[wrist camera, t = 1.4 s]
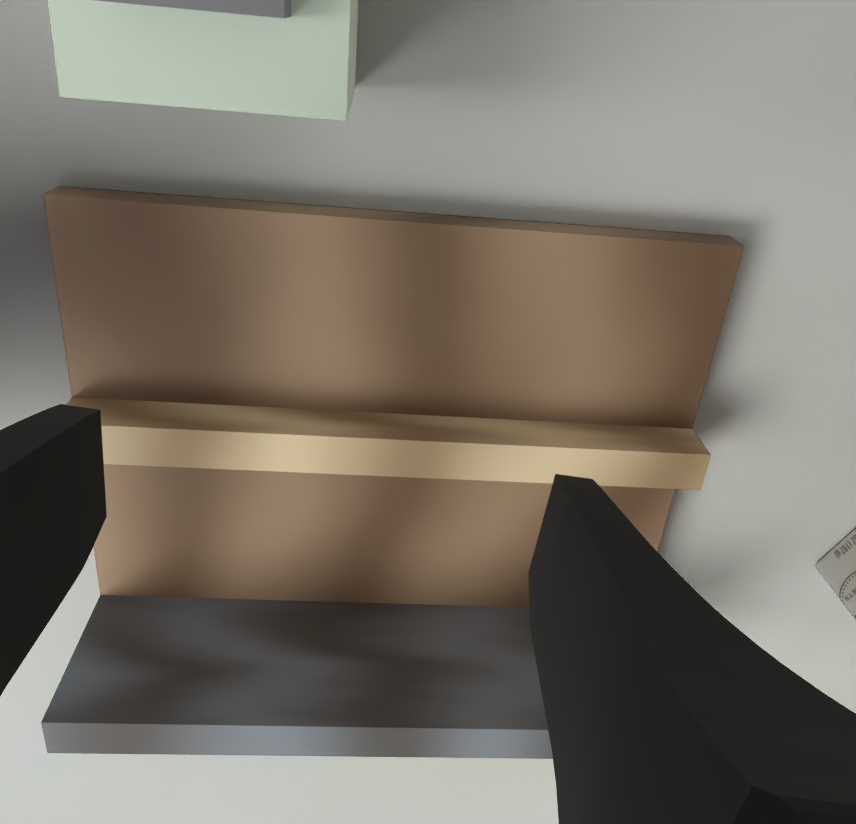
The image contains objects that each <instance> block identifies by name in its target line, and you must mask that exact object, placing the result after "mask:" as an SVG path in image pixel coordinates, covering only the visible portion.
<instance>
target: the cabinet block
mask: <svg viewBox="0 0 856 824" xmlns="http://www.w3.org/2000/svg"><path fill="white" fill-rule="evenodd" d="M47 1H48V9H49V17H50V25H51V33H52V41H53V48H54V56H55V64H56V72H57V80H58V88H59V96H60V97H66V98H78V99H90V100H102V101H114V102H126V103H138V104H150V105H162V106H174V107H186V108H198V109H209V110H221V111H233V112H245V113H257V114H269V115H281V116H293V117H305V118H317V119H329V120H341V121H346V120H347V116H348V112H349V108H350V104H351V100H352V97H353V93H354V89H355V78H356V53H357V28H358V3H359V0H47Z"/></svg>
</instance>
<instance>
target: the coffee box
mask: <svg viewBox="0 0 856 824" xmlns="http://www.w3.org/2000/svg"><path fill="white" fill-rule="evenodd" d="M816 568H817V570H818V571H819V573H820V574H821V575H822V577H823V578H824V579H825V581H826V582H827V583H828V584H829V586H830V587H831V588H832V590H833V591H834V592H835V594H836V595H837V596H838V598H839V599H840V600H841V602H842V603H843V604H844V605H845V607H846V608H847V609H848V611H849V612H850V613H851V615H852V616H853V617H854V618H855V619H856V529H855V530H853V531H852V532H851V533H850V534H849V535H848V536H847V537H846V538H844V539H843V540H842V541H841V542H840V543H839V544H838V545H836V546H835V547H834V548H833V549H832V550H831V551H830V552H829V553H827V554H826V555H825V556H824V557H823V558H822V559H821V560H820V561H819V562H818V563H817V564H816Z"/></svg>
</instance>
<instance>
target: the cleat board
mask: <svg viewBox="0 0 856 824" xmlns="http://www.w3.org/2000/svg"><path fill="white" fill-rule="evenodd" d="M43 198H44V205H45V212H46V218H47V225H48V232H49V239H50V246H51V253H52V260H53V267H54V274H55V281H56V288H57V295H58V302H59V309H60V316H61V323H62V330H63V337H64V344H65V351H66V358H67V365H68V372H69V379H70V386H71V393H72V398H71V399H70V401H69V402H68V403H67V405H70V406H78V407H85V408H92V409H99V410H100V411H101V428H102V445H103V462H104V479H105V496H106V512H107V517H106V519H105V521H104V524H103V526H102V528H101V530H100V533H99V535H98V537H97V539H96V542H95V544H94V553H95V560H96V567H97V574H98V581H99V588H100V597H99V599H98V602H97V604H96V606H95V608H94V610H93V612H92V614H91V617H90V619H89V621H88V623H87V625H86V627H85V630H84V632H83V634H82V636H81V638H80V640H79V642H78V645H77V647H76V649H75V651H74V653H73V655H72V657H71V660H70V662H69V664H68V666H67V668H66V670H65V673H64V675H63V677H62V679H61V681H60V683H59V685H58V688H57V690H56V692H55V694H54V696H53V698H52V700H51V703H50V705H49V707H48V709H47V711H46V713H45V716H44V718H43V720H42V722H41V724H42V729H43V733H44V738H45V743H46V748H47V752H48V753H100V754H188V755H275V756H363V757H451V758H539V759H553V755H552V749H551V743H550V738H549V732H548V726H547V721H546V715H545V709H544V704H543V698H542V693H541V687H540V681H539V676H538V670H537V664H536V658H535V652H534V647H533V641H532V634H531V628H530V609H529V578H528V572H529V569H530V565H531V561H532V558H533V554H534V550H535V547H536V543H537V539H538V536H539V532H540V528H541V525H542V521H543V517H544V514H545V510H546V506H547V503H548V499H549V495H550V492H551V488H552V484H553V481H554V477H555V474H561V475H568V476H575V477H582V478H589V479H593V480H594V481H595V482H596V483H597V484H598V485H599V486H600V487H601V488H602V489H603V490H604V492H605V493H606V494H607V495H608V496H609V497H610V499H611V500H612V501H613V502H614V503H615V504H616V506H617V507H618V508H619V509H620V510H621V511H622V513H623V514H624V515H625V516H626V517H627V518H628V520H629V521H630V522H631V523H632V524H633V525H634V526H635V528H636V529H637V530H638V531H639V532H640V533H641V534H642V536H643V537H644V538H645V539H646V540H647V541H648V542H649V543H650V544H651V546H652V547H653V548H654V549H655V550H656V551H658V548H659V544H660V540H661V537H662V533H663V530H664V526H665V523H666V519H667V516H668V512H669V509H670V505H671V502H672V498H673V495H674V491H675V489H688V490H700V489H701V486H702V482H703V479H704V476H705V472H706V469H707V466H708V463H709V459H710V456H711V454H710V453H709V452H708V450H707V449H706V447H705V446H704V445H703V443H702V442H701V440H700V439H699V438H698V436H697V435H696V433H695V432H694V431H693V429H692V427H693V424H694V420H695V417H696V413H697V410H698V406H699V403H700V399H701V396H702V392H703V389H704V385H705V382H706V378H707V375H708V371H709V367H710V364H711V360H712V357H713V353H714V350H715V346H716V343H717V339H718V336H719V332H720V329H721V325H722V322H723V318H724V314H725V311H726V307H727V304H728V300H729V297H730V293H731V290H732V286H733V283H734V279H735V276H736V272H737V269H738V265H739V262H740V258H741V254H742V251H743V247H744V246H743V245H741V244H740V243H738V242H737V241H735V240H734V239H732V238H731V237H730V236H721V235H707V234H694V233H680V232H667V231H653V230H640V229H626V228H613V227H599V226H586V225H572V224H559V223H545V222H532V221H518V220H505V219H491V218H478V217H465V216H451V215H438V214H424V213H411V212H397V211H384V210H370V209H357V208H343V207H330V206H316V205H303V204H289V203H276V202H262V201H249V200H235V199H222V198H208V197H195V196H181V195H168V194H154V193H141V192H127V191H114V190H100V189H87V188H73V187H60V186H58V187H56V188H54V189H53V190H51V191H49V192H48V193H46V194H44V195H43Z"/></svg>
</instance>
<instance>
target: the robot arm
mask: <svg viewBox="0 0 856 824" xmlns="http://www.w3.org/2000/svg"><path fill="white" fill-rule="evenodd" d="M106 517H107V512H106V496H105V479H104V462H103V445H102V428H101V411H100V410H99V409H92V408H85V407H78V406H70V405H63V404H60V405H57V406H54V407H52V408H49V409H46V410H44V411H42V412H39V413H37V414H35V415H32V416H30V417H28V418H26V419H23V420H21V421H19V422H17V423H15V424H13V425H10V426H8V427H6V428H4V429H2V430H0V696H1V694H2V692H3V691H4V689H5V687H6V686H7V684H8V683H9V681H10V680H11V678H12V677H13V675H14V674H15V672H16V671H17V669H18V668H19V666H20V664H21V663H22V661H23V660H24V658H25V657H26V655H27V654H28V652H29V651H30V649H31V648H32V646H33V645H34V643H35V642H36V640H37V639H38V637H39V636H40V634H41V633H42V631H43V630H44V628H45V626H46V625H47V623H48V622H49V620H50V619H51V617H52V616H53V614H54V613H55V611H56V610H57V608H58V607H59V605H60V604H61V602H62V600H63V599H64V597H65V596H66V594H67V593H68V591H69V590H70V588H71V586H72V585H73V583H74V582H75V580H76V579H77V577H78V575H79V574H80V572H81V571H82V569H83V567H84V565H85V563H86V561H87V559H88V556H89V554H90V552H91V550H92V548H93V546H94V544H95V542H96V539H97V537H98V535H99V533H100V530H101V528H102V526H103V524H104V521H105V519H106ZM528 578H529V609H530V628H531V634H532V641H533V647H534V652H535V658H536V664H537V670H538V676H539V681H540V687H541V693H542V698H543V704H544V709H545V715H546V721H547V726H548V732H549V738H550V743H551V749H552V755H553V762H554V770H555V778H556V787H557V802H558V816H559V824H856V714H855V713H854V712H852V711H850V710H849V709H847V708H846V707H844V706H843V705H841V704H840V703H838V702H836V701H835V700H833V699H832V698H830V697H829V696H827V695H826V694H824V693H823V692H821V691H820V690H818V689H817V688H815V687H814V686H813V685H811V684H810V683H808V682H807V681H805V680H804V679H803V678H801V677H800V676H798V675H797V674H796V673H794V672H793V671H791V670H790V669H789V668H787V667H786V666H784V665H783V664H782V663H780V662H779V661H777V660H776V659H775V658H774V657H772V656H771V655H770V654H768V653H767V652H766V651H764V650H763V649H762V648H760V647H759V646H758V645H757V644H755V643H754V642H753V641H752V640H751V639H749V638H748V637H747V636H746V635H745V634H743V633H742V632H741V631H740V630H739V629H737V628H736V627H735V626H734V625H733V624H731V623H730V622H729V621H728V620H727V619H725V618H724V617H723V616H722V615H721V614H720V613H719V612H717V611H716V610H715V609H714V608H713V607H712V606H711V605H710V604H709V603H708V602H706V601H705V600H704V599H703V598H702V597H701V596H700V595H699V594H698V593H697V592H696V591H695V590H694V589H693V588H692V587H691V586H690V585H689V584H688V583H687V582H686V581H685V580H684V579H683V578H682V577H681V576H680V575H679V574H678V573H677V572H676V571H675V570H674V569H673V568H672V567H671V566H670V565H669V564H668V563H667V562H666V561H665V560H664V559H663V558H662V556H661V555H660V554H659V553H658V552H657V551H656V550H655V549H654V548H653V547H652V546H651V544H650V543H649V542H648V541H647V540H646V539H645V538H644V537H643V536H642V534H641V533H640V532H639V531H638V530H637V529H636V528H635V526H634V525H633V524H632V523H631V522H630V521H629V520H628V518H627V517H626V516H625V515H624V514H623V513H622V511H621V510H620V509H619V508H618V507H617V506H616V504H615V503H614V502H613V501H612V500H611V499H610V497H609V496H608V495H607V494H606V493H605V492H604V490H603V489H602V488H601V487H600V486H599V485H598V484H597V483H596V482H595V481H594V480H593V479H589V478H582V477H575V476H568V475H561V474H555V477H554V481H553V484H552V488H551V492H550V495H549V499H548V503H547V506H546V510H545V514H544V517H543V521H542V525H541V528H540V532H539V536H538V539H537V543H536V547H535V550H534V554H533V558H532V561H531V565H530V569H529V572H528Z"/></svg>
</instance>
